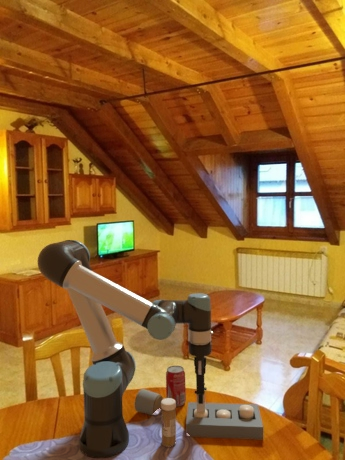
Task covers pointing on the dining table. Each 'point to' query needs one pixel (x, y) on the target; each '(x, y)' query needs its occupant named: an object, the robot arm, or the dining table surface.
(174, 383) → the soda can
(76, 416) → the dining table surface
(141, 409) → the ceramic mug
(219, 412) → the middle button
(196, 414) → the left button
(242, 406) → the right button
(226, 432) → the button board
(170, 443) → the sprinkles bottle
